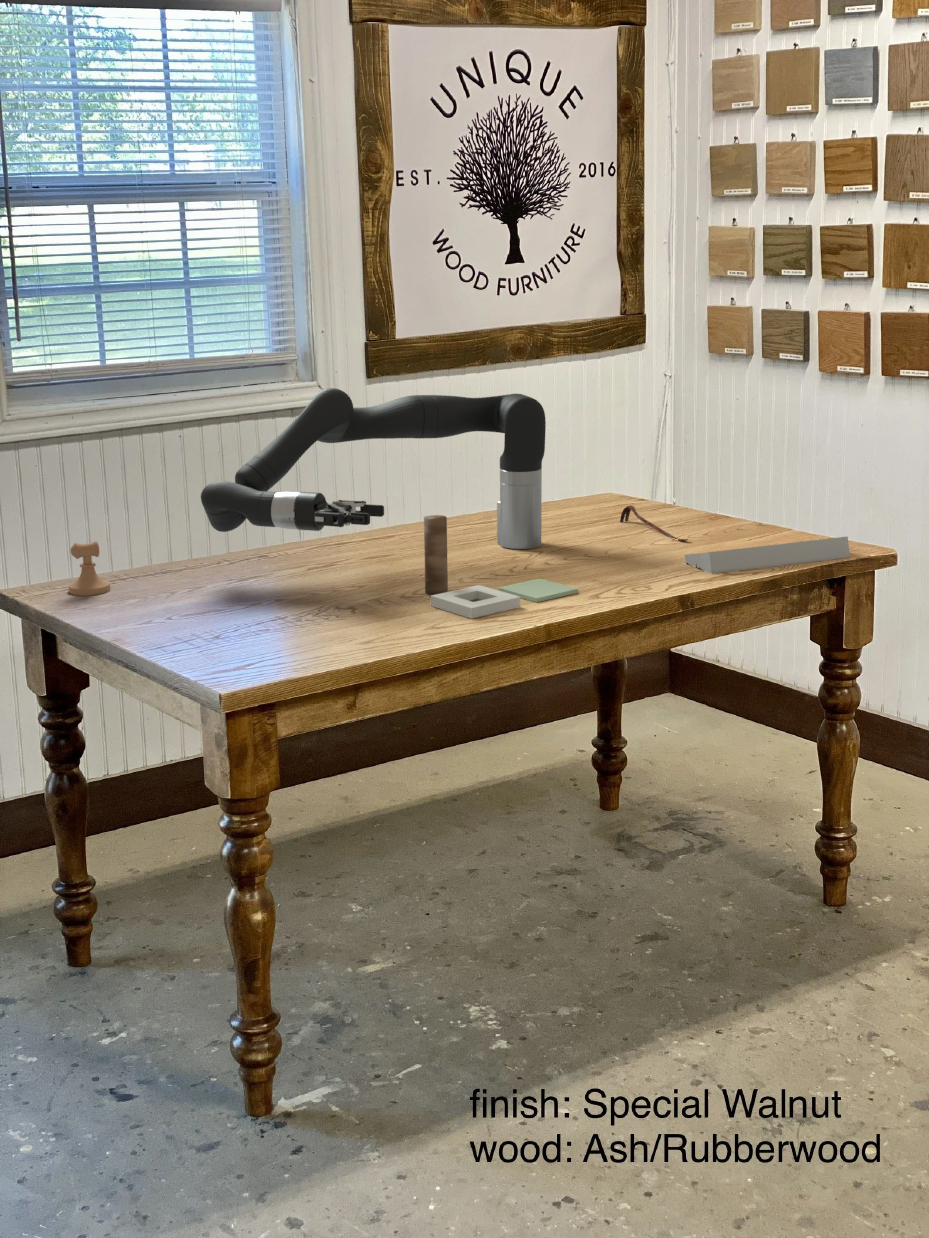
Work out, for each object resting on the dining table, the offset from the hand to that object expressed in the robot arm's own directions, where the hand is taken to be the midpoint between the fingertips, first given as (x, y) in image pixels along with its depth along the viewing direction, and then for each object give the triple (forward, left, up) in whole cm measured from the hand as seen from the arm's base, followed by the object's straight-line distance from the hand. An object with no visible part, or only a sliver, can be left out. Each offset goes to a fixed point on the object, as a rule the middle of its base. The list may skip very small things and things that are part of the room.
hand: (376, 515), depth 283 cm
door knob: (-39, -43, -15) cm, 60 cm away
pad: (+22, +22, -15) cm, 35 cm away
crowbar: (0, +79, -16) cm, 81 cm away
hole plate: (+22, +6, -15) cm, 28 cm away
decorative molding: (+35, +76, -16) cm, 85 cm away
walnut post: (+9, +7, -15) cm, 19 cm away
